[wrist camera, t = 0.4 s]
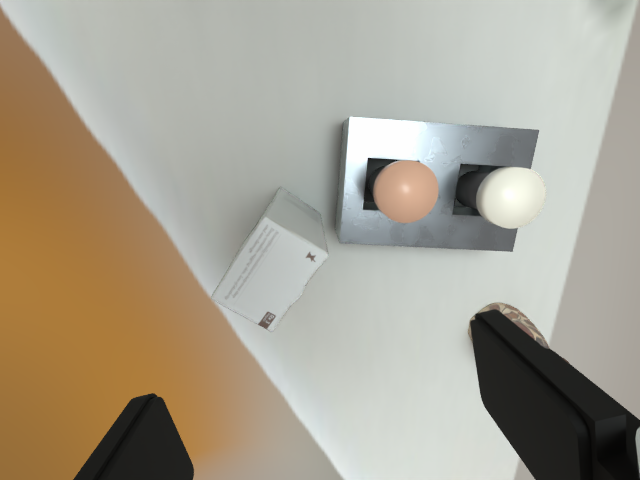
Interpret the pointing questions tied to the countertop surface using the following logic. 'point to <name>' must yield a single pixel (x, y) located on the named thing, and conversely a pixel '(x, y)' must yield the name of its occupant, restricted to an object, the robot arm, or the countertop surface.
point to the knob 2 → (503, 195)
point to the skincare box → (274, 262)
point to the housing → (444, 160)
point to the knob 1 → (404, 190)
